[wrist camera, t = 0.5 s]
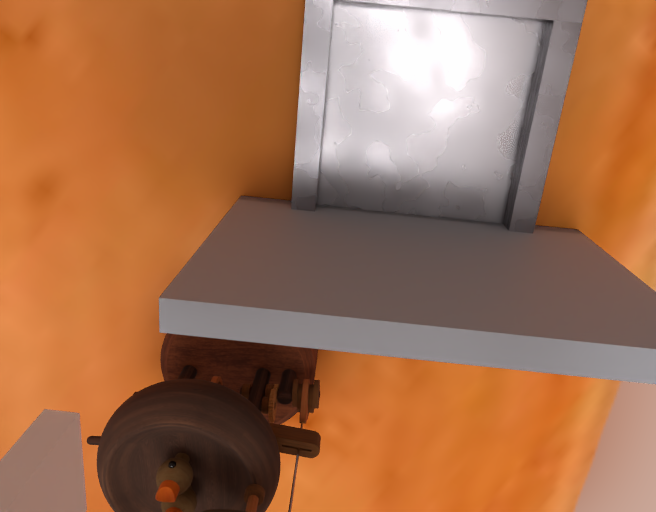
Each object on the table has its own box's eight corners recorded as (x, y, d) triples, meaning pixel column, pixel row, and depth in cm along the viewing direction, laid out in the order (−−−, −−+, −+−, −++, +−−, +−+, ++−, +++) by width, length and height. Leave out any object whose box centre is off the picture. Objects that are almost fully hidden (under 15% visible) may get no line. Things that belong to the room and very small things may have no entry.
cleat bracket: (310, -29, 31) (307, -35, 29) (575, -4, 31) (589, -8, 29) (294, 200, 36) (291, 209, 34) (523, 224, 36) (532, 233, 34)
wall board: (241, 195, 36) (159, 297, 21) (577, 229, 36) (737, 357, 21) (238, 266, 38) (161, 407, 23) (559, 299, 37) (694, 463, 22)
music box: (328, 261, 37) (310, 510, 19) (348, 390, 42) (349, 689, 24) (113, 285, 39) (-93, 539, 21) (155, 407, 43) (17, 703, 25)
